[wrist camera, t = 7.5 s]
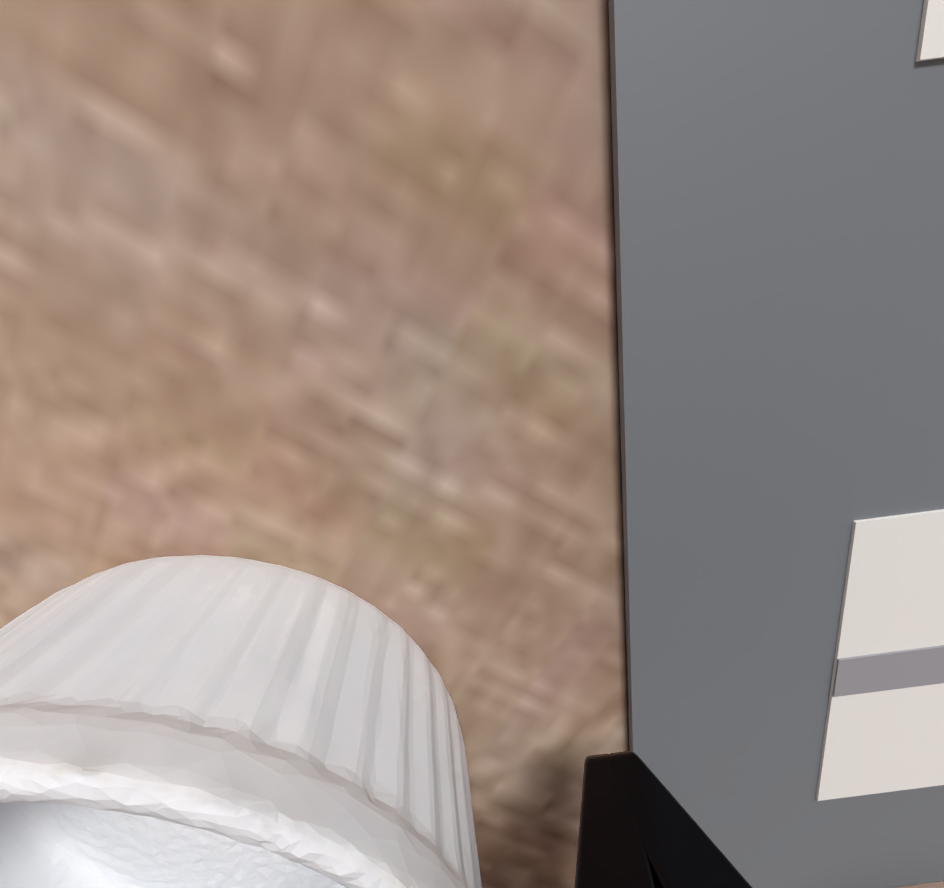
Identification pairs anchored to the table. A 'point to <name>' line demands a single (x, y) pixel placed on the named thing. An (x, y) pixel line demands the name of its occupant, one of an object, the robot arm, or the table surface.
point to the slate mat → (785, 425)
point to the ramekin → (226, 737)
